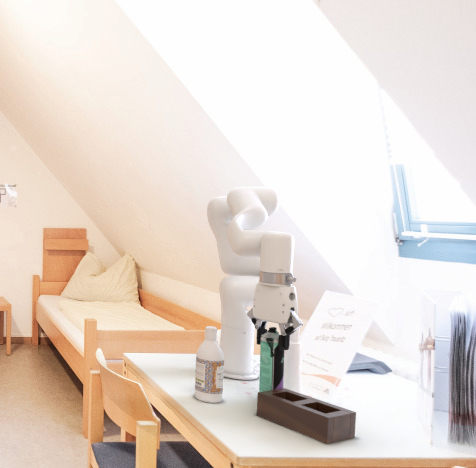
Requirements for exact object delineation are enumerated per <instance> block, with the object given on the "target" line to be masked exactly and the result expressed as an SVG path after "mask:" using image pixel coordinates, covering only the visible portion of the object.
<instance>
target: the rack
mask: <svg viewBox="0 0 476 468" xmlns="http://www.w3.org/2000/svg"><path fill="white" fill-rule="evenodd" d="M256 416H257V417H259V418H261V419H264V420H267V421H269V422H272V423H274V424H277V425H280V426H282V427H284V428H287V429H289V430H291V431H293V432H296V433H299V434H301V435H303V436H306V437H308V438H311V439H314V440H315V441H318V442H321V443H323V444H325V445H328V444H329V445H330V444H333V443H337V442H342V441H346V440H350V439H354V438H355V437H356V422H357V421H356V420H357V412H356V411H354V410H351V409H347V408H345V407H342V406H338V405H337V404H333V403H330V402H326V401H324V400H321V399H318V398H315V397H312V396H309V395H305V394H303V393H302V394H300V393H297V392H294V391H291V390H288V389H285V388H282V389H275V390H269V391H263V392H259V391H258V392H257V401H256Z"/></svg>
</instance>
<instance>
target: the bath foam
mask: <svg viewBox="0 0 476 468" xmlns="http://www.w3.org/2000/svg"><path fill="white" fill-rule="evenodd" d="M204 329H205V330H204V340H203V341H202V342H201V344H200V345H199V346H198V348H197V351H196V354H195V372H194V376H195V377H194V398H196V399H198V401H201V402H205V403H210V404H218V403H221V402H222V401H223V395H224V393H223V392H224V376H223V373H224V354H223V351H222V349H221V347H220V343H219V342H218V340H217V339H218V328H217V327H216V326H212V325H206V326H205V328H204Z"/></svg>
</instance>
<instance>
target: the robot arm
mask: <svg viewBox="0 0 476 468" xmlns="http://www.w3.org/2000/svg"><path fill="white" fill-rule="evenodd" d="M280 203H281V202H280V194H279V193H278V191H277V190H276V189H275V188H273V187H271V186H257V185H255V186H251V185H250V186H248V185H244V186H243V185H242V186H236V187H234V188H231V190H230V191H228V193H227V195H220V196H216V197H213V198H212V199H210V200H209V202H208V203H207V207H206V215H207V222H208V226H209V227H210V229H211V231H212V233H213V235H214V238H215V239H216V240H215V241H216V246H217V251H218V252H217V253H218V258H219V264H220V267H221V271H222V272H223V273H224V274H226V275H228V276H225V277H223V278H222V279H221V280H220V282H219V287H218V289H219V290H218V291H219V297H220V309H221V310H220V314H221V315H220V339H219V340H220V341H219V345H220V347H221V349H222V351H223V354H224V373H223V378H224V377H225V378H228V379H233V380H242V381H243V380H244V381H252V380H256V379H258V378H259V373H258V371H256V370H255V369H256V368H260V360H254V354H255V353H254V350H255V333H256V345H258V346H260V345H261V335H263V334H265V333H267V331H268V329H267V328H266V327H267V325H268V323H274V324H278V327H279V333H280V335H279V340H278V349H279V350H280V351H283V350H284V351H285V350H288V349H289V344H290V335H292V334H293V332H295V331H296V330H297V329H299V328H300V329H301V328H302V327H303V326H304V323H303V322H302V320H301V319H300V318H299V301H298V292H297V288H296V286H295V285H293V283H296V282H297V278H296V276H294V274H293V271H294V254H295V253H294V251H295V237H294V235H293V234H292V233H290V232H284V231H282V230H265V229H260V228H262V227H263V226H265V224H266V223H267V222H268V221H267V220H268V219H269V217H270V216H272V215H273V214H275V213H276V212H277V211H278V209H279V207H280ZM247 307H251V308H250V309H249V310H248V308H247ZM290 323H293V325H292V326H291V325H290ZM255 330H256V332H255Z"/></svg>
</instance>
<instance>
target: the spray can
mask: <svg viewBox="0 0 476 468" xmlns="http://www.w3.org/2000/svg"><path fill="white" fill-rule="evenodd" d="M279 335H281V333H280V331H278V329H277V327H276V326H271V327H269V328H268V329H267V333H265V334H263V335H261V345H259V346H260V349H259V350H260V351H259V352H260V353H259V361H260V367H259V382H258V383H259V386H258V392H263V391H269V390H275V389H282V388H283V379H284V353H285V350H283V351H280V350H279V349H278V340H279Z"/></svg>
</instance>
